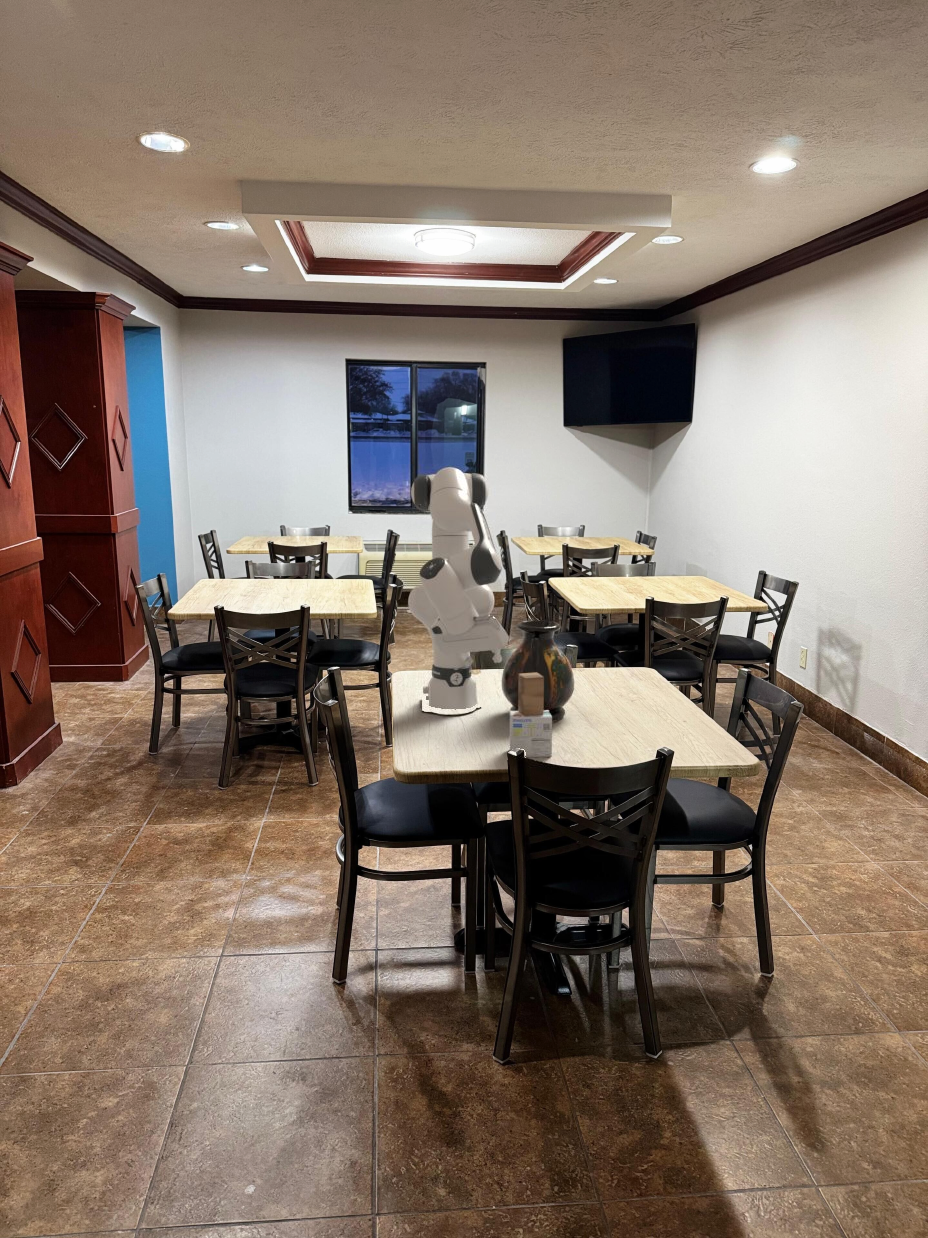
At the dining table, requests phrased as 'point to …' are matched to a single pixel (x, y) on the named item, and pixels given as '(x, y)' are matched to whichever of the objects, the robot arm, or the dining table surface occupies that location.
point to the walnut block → (531, 694)
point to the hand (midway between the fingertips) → (484, 662)
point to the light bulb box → (531, 733)
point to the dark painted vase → (540, 667)
